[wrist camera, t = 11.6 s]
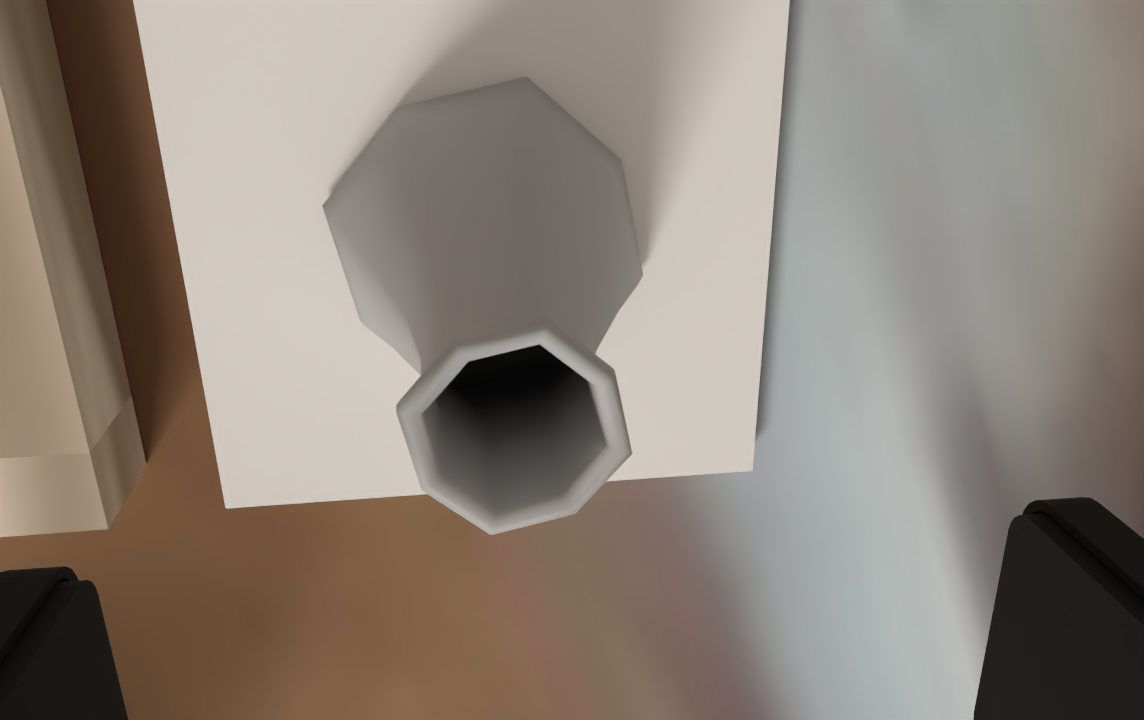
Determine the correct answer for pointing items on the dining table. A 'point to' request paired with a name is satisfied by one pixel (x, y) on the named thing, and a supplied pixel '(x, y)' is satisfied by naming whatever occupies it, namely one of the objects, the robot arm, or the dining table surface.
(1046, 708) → the robot arm
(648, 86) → the plate
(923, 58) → the dining table surface
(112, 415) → the holder
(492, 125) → the flask
